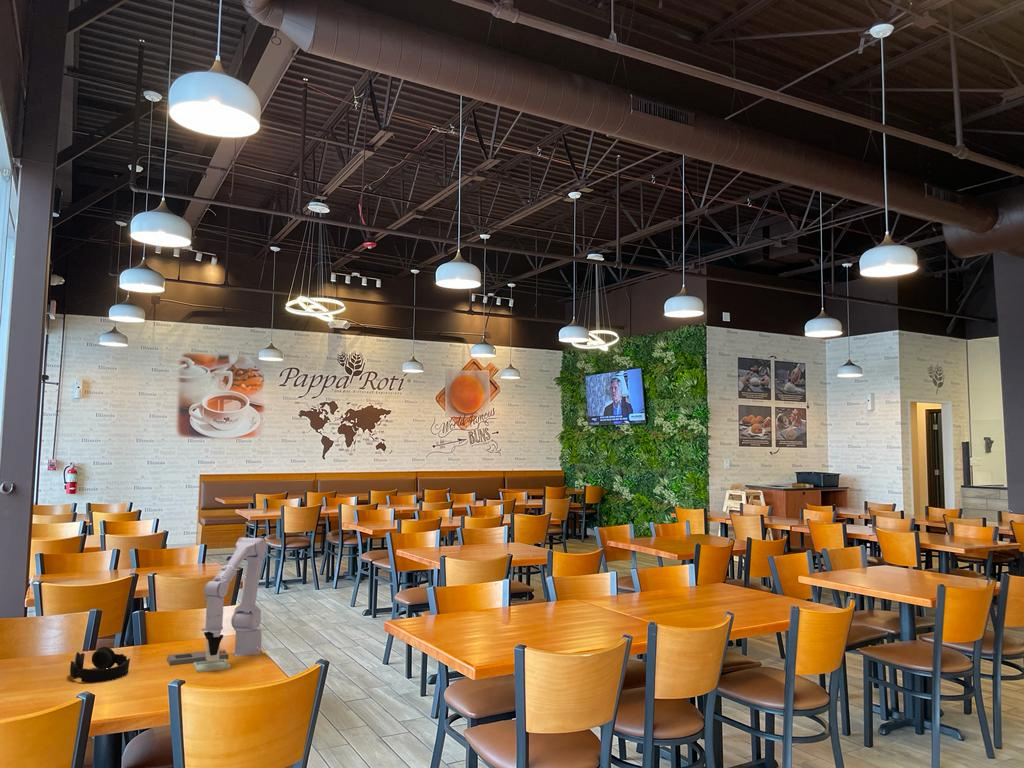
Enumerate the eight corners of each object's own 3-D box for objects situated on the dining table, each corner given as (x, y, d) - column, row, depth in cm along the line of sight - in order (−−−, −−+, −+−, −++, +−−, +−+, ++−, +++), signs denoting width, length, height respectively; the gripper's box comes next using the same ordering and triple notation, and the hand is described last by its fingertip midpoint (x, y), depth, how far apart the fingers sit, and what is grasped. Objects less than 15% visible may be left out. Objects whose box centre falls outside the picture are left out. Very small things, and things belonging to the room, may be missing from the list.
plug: (217, 657, 270) (218, 632, 271) (218, 659, 266) (220, 635, 267) (205, 658, 268) (206, 633, 269) (207, 661, 265) (208, 636, 265)
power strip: (224, 654, 285) (225, 631, 286) (228, 659, 278) (229, 636, 279) (167, 660, 276) (168, 636, 276) (169, 666, 268) (171, 641, 269)
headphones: (109, 641, 270) (141, 656, 259) (106, 663, 269) (138, 679, 259) (58, 652, 255) (90, 668, 244) (55, 675, 254) (87, 692, 244)
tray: (225, 662, 274) (225, 658, 274) (230, 669, 265) (230, 666, 265) (193, 665, 269) (193, 662, 269) (197, 673, 259) (197, 669, 260)
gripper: (199, 612, 273) (197, 650, 272) (205, 619, 261) (203, 659, 259) (220, 610, 277) (218, 648, 275) (226, 617, 264) (224, 657, 263)
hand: (212, 653), depth 267 cm, fingers closed on plug, 4 cm apart
